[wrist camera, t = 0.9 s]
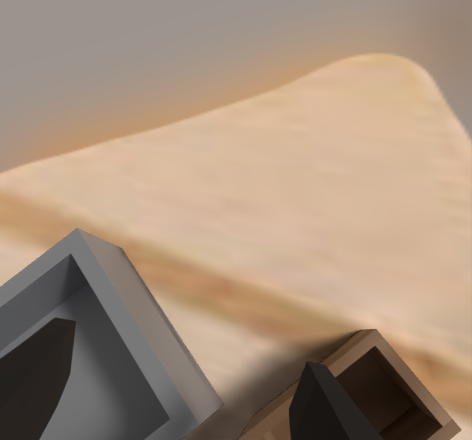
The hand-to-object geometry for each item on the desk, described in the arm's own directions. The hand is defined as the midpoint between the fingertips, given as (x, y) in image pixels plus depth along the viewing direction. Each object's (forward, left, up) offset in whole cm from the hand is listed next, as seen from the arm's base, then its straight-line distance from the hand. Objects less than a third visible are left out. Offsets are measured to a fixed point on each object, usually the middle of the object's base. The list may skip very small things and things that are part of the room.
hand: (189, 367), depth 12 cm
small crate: (-6, -2, -12) cm, 14 cm away
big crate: (+4, +10, -12) cm, 16 cm away
